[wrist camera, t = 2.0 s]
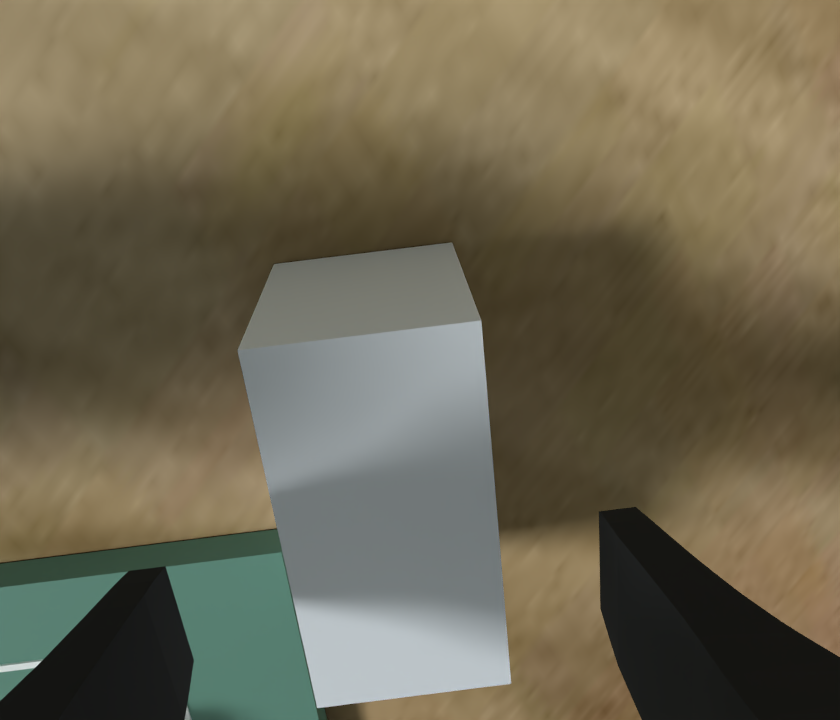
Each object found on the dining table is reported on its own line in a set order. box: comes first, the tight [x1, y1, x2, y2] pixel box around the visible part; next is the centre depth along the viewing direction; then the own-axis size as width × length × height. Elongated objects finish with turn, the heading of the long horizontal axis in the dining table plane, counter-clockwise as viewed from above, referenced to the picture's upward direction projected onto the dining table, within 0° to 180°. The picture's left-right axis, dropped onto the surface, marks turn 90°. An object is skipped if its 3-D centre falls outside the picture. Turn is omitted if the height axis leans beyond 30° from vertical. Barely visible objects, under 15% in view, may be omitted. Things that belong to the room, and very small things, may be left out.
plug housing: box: [238, 242, 511, 708], centre depth 16 cm, size 4×8×5 cm, turn 6°
